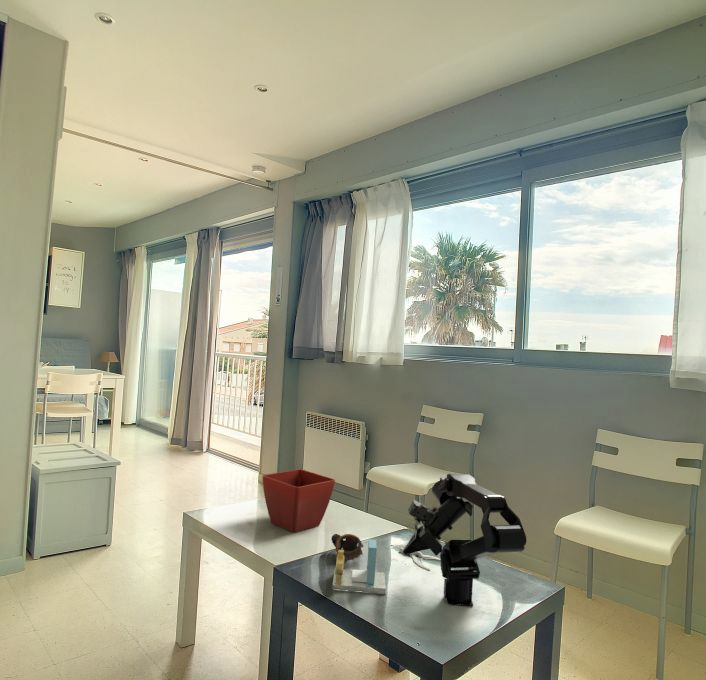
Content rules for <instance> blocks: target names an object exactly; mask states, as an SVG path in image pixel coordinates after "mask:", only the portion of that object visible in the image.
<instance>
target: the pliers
mask: <svg viewBox="0 0 706 680" xmlns="http://www.w3.org/2000/svg"><path fill="white" fill-rule="evenodd" d="M404 548H405V547H399V553H401V554H402V555H403V554H404V553H403V550H404ZM404 555H405V554H404ZM408 555H409V557H410V558H411V559H412V561H413V563H414V564H415V565H417V566H418V567H420V568H422V569H423V570H425V571H431V569H430V568H429V567H427V566H425V565H424V564H423V560H427V561H439V562H441V561H440V557H437V556H435V555H434V556H432V555H430V554H429V555H427V554H423V553H422V552H421V551H418V552H414V553H411V554H407V555H406V556H408ZM418 557H420V559H419V558H418ZM419 560H420V561H419Z"/></svg>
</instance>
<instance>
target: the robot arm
mask: <svg viewBox="0 0 706 680" xmlns="http://www.w3.org/2000/svg"><path fill="white" fill-rule="evenodd" d="M476 480H477V479H475V478H474V477H473V476H472V475H471V474H469V473H447V474H446V477H445V476H440V478H439V480H438V481H437V482H435V483H434V485H432V487H431V493H432V496H433V497H434V498H435V500H436V501H437V503H438V504H439V506H438V507H437V506H434V507H432V508H429V507H428V506H426V505H425V504H423V503H421V502H419V501H417V500H416V499H413V500H412V502H411V504H410V506H409V508H408V510H407V511H408V514H409V515H410V516H412V517H413V518H414V521H417V522H418V525H417V524H416V523H414V524H413V526H414V529H413V530H414V531H413V534H412V536H411V537H410V539H409V541H408V542H407V543H406V545H405V547H403V548H404V550H403V553H404V555H405V556H408V555H409V554H411V553H414V552H418V551H420V552H421V551H426V550H430V551H431V552H432V553H433V554H434V556H435V557H437V556H438V555H439V558H440V561H439V562H440V570H441V573H442V574H441V577H442V578H444V581H443V597H444V598H445V600H446V602H447V604H448V605H455V606H467V607H474V602H473V585H474V584H473V583H474V580H478V579H479V578H480V574H481V570H480V567H479V564H478V561H477V560H478V559H481V558H484V557H487V556H490V555H493V554H496V553H497V554H499V553H500V554H501V553H522V552H523V551H524V550H525V546H526V545H527V535H526V532H525V530H524V527H523V524H522V521H521V518H520V517H519V516H518V515H517V514H516V513H515V512H514V511H513V510H512V509H511V508H510V507H509V504H508V502H507V499H506V498H505V496H503V495H501V494H497V493H495V492H493V491H491V490H489V489H487V488H485V487H483V486H481V485H479V484H477V483H476ZM473 505H475V506H477V507H478V508H480V509H481V512H482V519H481V523H480V530H481V532H482V536H480V537H477V538H475V539H471V538H470V539H465V538H464V539H450V540H448V541H444V545H442V543H441V539H442V535H443V534H444V533H445V532H446V531H447V530H449V531H451V530H452V529H453V525H454V524H455V523H457V522H458V520H460V519H461V518H462V517H463V516H465V515H466V514H467V515H469V517H472V516H473V509H474V506H473ZM491 514H500V516H501V517H502V518H503V520H504V521H505V522H507V524H495V525H493V524H492V525H491V522H490V520H489V519H490V515H491ZM403 553H402V554H403ZM407 554H408V555H407ZM459 568H460V569H459ZM465 568H466V569H465ZM467 568H468V569H467Z"/></svg>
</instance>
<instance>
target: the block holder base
mask: <svg viewBox="0 0 706 680" xmlns="http://www.w3.org/2000/svg"><path fill="white" fill-rule="evenodd" d="M336 556H337V560H335V561H336V564H335V568H334V572H333V577H332V578H333V579H332V588H331V589H340V590H348V591H362V592H369V593H368V594H372V593H377V594H376V595H386V594H387V587H386V575H385V572H381V571H375V581H374V584H367V582H354V581H352V570H353V569H344V568H345V566H344V564H345V561H344V550H343V549H341V550H338V555H337V554H336Z"/></svg>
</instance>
